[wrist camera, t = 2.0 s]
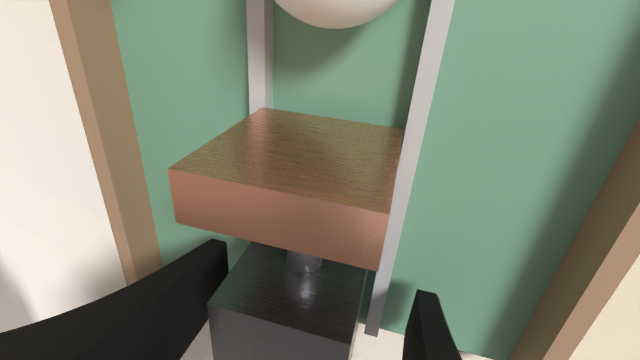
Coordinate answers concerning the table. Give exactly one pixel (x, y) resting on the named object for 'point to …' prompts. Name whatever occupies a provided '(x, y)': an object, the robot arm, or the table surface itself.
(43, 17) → the table surface
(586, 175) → the pitch
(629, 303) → the table surface
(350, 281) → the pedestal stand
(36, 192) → the table surface
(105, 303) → the robot arm
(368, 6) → the ball
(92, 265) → the table surface
